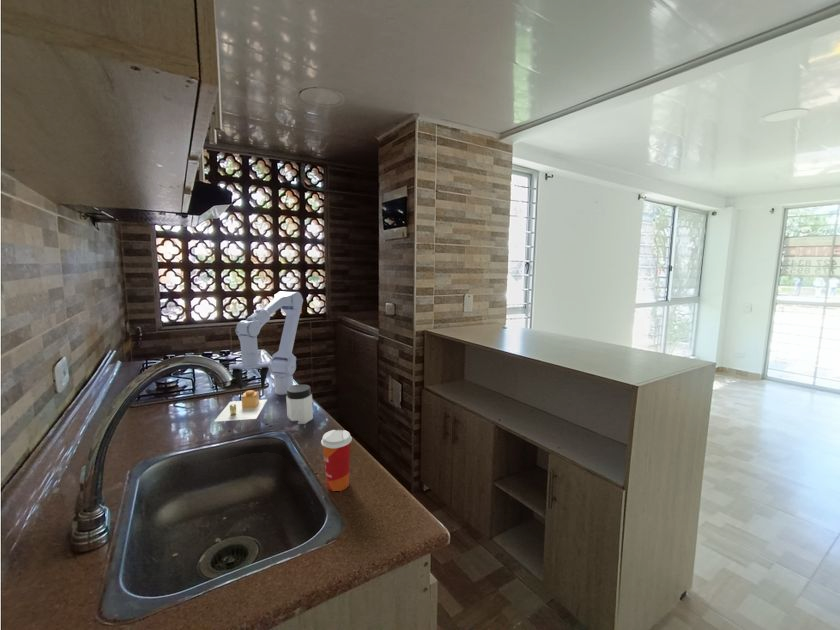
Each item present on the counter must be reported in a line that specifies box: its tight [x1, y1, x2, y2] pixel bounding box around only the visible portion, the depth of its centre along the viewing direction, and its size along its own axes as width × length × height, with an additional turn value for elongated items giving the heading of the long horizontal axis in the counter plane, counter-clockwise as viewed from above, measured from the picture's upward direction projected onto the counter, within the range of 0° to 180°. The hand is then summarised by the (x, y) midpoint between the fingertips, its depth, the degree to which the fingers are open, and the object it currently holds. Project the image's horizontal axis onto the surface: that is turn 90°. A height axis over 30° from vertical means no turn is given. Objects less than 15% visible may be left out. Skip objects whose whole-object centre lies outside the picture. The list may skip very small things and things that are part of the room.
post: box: [230, 404, 237, 416], centre depth 136 cm, size 2×2×4 cm
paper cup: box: [320, 429, 353, 492], centre depth 97 cm, size 8×8×14 cm
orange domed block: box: [240, 389, 260, 408], centre depth 145 cm, size 5×5×6 cm
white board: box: [213, 399, 268, 423], centre depth 141 cm, size 18×14×2 cm
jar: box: [285, 383, 314, 425], centre depth 135 cm, size 9×8×12 cm
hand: (252, 387), depth 142 cm, fingers open, 7 cm apart
